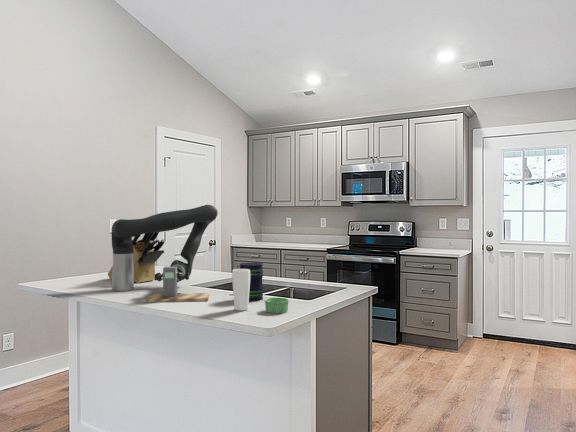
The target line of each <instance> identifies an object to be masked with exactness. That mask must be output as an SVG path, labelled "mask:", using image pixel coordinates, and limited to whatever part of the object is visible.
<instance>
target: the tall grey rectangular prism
mask: <svg viewBox="0 0 576 432" xmlns="http://www.w3.org/2000/svg"><path fill="white" fill-rule="evenodd" d="M162 273H163V280H162V288H163V289H162V291H163V293H162V294H163V297H176V296H177V293H178V283H177V267H170V266H164V267H162Z"/></svg>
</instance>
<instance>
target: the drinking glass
mask: <svg viewBox="0 0 576 432" xmlns="http://www.w3.org/2000/svg"><path fill="white" fill-rule="evenodd" d="M231 274H232V275H231V279H232V280H231V281H232V283H231V284H232V293H233V294H232V295H233V305H234V306H233V309H234V311H237V312H238V311H239V312H244V311H248V310H249V303H250V302H249V291H250V269H240V268H234V269H232V273H231Z"/></svg>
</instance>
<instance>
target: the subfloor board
mask: <svg viewBox="0 0 576 432" xmlns="http://www.w3.org/2000/svg"><path fill="white" fill-rule="evenodd" d="M210 296H211V293H210V292H200V293H199V292H195V293H194V292H191V293H181V292H177V296H176V297H163V293H151V294H150V295H149V296H147V297H146V299H145V303H178V302H180V303H181V302H185V303H187V302H208V301H209V299H210Z"/></svg>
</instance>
